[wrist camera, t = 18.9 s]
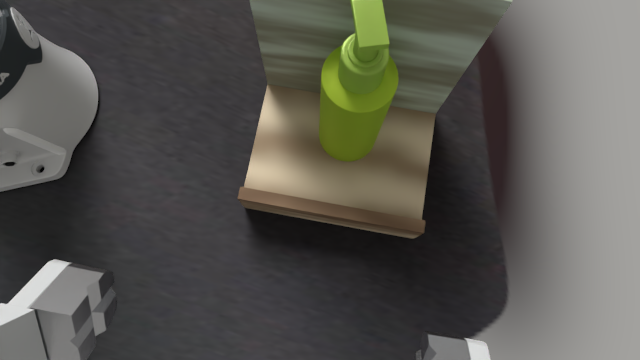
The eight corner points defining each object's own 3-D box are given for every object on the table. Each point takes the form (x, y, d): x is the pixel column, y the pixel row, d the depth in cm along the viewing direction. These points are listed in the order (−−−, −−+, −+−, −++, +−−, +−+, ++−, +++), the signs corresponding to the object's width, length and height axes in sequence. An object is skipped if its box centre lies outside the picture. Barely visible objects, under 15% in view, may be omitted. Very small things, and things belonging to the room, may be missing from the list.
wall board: (413, 238, 48) (494, 195, 26) (244, 207, 48) (190, 139, 27) (430, 107, 51) (514, -25, 30) (273, 79, 52) (246, -70, 31)
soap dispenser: (369, 95, 48) (406, -37, 29) (379, 157, 47) (427, 61, 27) (314, 102, 48) (315, -27, 29) (323, 165, 46) (330, 73, 27)
